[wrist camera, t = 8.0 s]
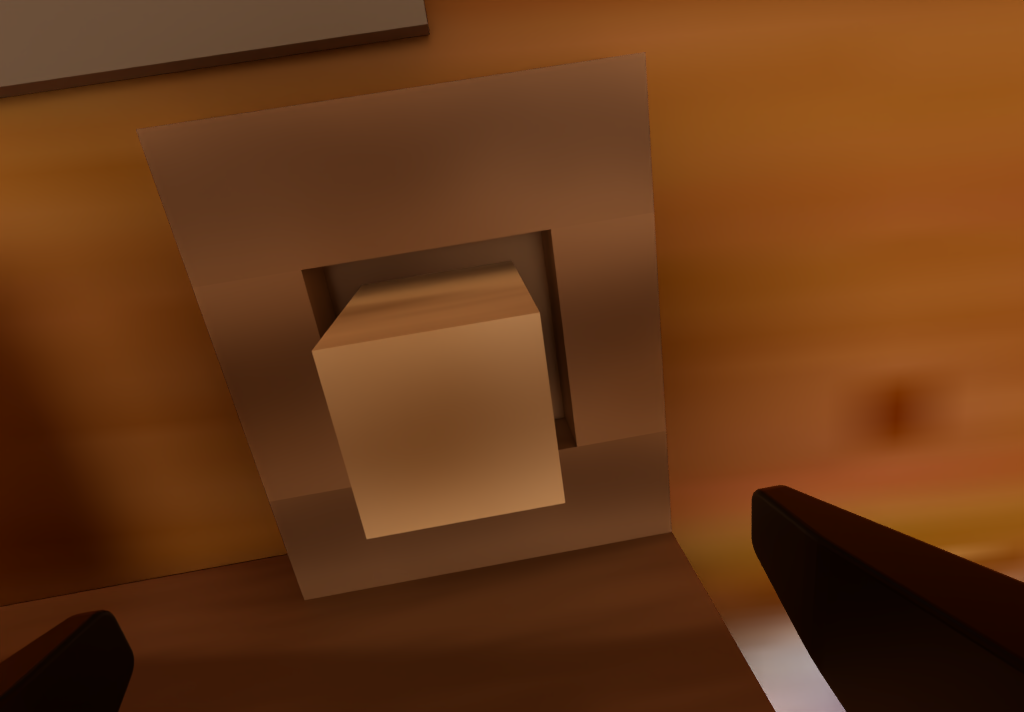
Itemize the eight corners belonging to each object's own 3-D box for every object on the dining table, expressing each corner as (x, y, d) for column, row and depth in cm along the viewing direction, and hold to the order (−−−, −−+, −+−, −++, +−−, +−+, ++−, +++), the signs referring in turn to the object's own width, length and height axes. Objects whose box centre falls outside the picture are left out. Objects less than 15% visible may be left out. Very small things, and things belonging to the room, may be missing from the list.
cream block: (531, 395, 18) (565, 503, 12) (395, 419, 18) (367, 539, 12) (511, 260, 16) (539, 312, 11) (362, 284, 16) (311, 350, 11)
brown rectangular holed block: (649, 522, 21) (780, 770, 12) (-26, 647, 20) (-385, 1009, 11) (616, 68, 15) (810, -43, 7) (-312, 209, 14) (-1389, 280, 6)
